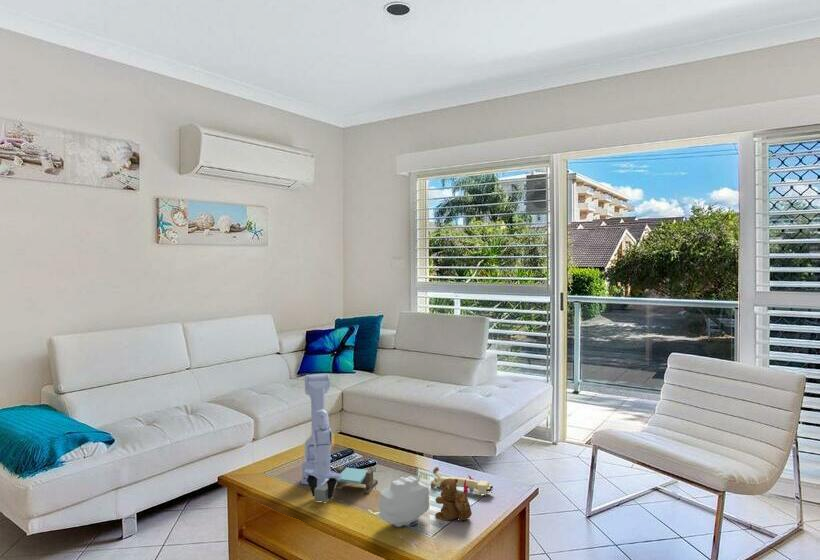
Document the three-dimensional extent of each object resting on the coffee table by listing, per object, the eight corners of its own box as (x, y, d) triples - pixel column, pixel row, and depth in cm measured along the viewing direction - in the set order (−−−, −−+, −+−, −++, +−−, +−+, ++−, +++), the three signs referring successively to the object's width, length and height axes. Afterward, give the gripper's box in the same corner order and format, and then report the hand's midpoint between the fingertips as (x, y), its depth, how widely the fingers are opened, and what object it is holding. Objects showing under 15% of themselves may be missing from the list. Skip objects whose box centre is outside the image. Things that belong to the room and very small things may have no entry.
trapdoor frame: (335, 488, 206) (335, 470, 206) (345, 478, 216) (345, 460, 215) (369, 493, 202) (369, 474, 202) (377, 482, 212) (377, 464, 212)
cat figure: (429, 493, 206) (490, 500, 196) (427, 471, 206) (489, 477, 196) (437, 483, 215) (496, 489, 205) (436, 462, 215) (495, 467, 205)
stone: (314, 502, 195) (314, 489, 194) (319, 496, 199) (319, 484, 199) (325, 503, 193) (325, 490, 193) (330, 498, 198) (330, 485, 198)
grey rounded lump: (433, 521, 181) (433, 476, 180) (390, 537, 170) (391, 489, 170) (414, 509, 190) (414, 466, 189) (372, 523, 179) (373, 478, 178)
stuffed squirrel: (447, 505, 193) (447, 471, 192) (479, 518, 184) (479, 482, 183) (430, 515, 185) (431, 479, 185) (463, 529, 176) (463, 491, 176)
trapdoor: (335, 489, 201) (335, 478, 200) (346, 478, 211) (346, 467, 211) (359, 493, 198) (359, 481, 198) (369, 481, 209) (369, 470, 208)
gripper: (300, 462, 194) (300, 498, 194) (336, 467, 190) (335, 503, 190) (308, 456, 200) (308, 490, 201) (343, 460, 197) (343, 495, 197)
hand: (322, 496), depth 196 cm, fingers open, 6 cm apart
